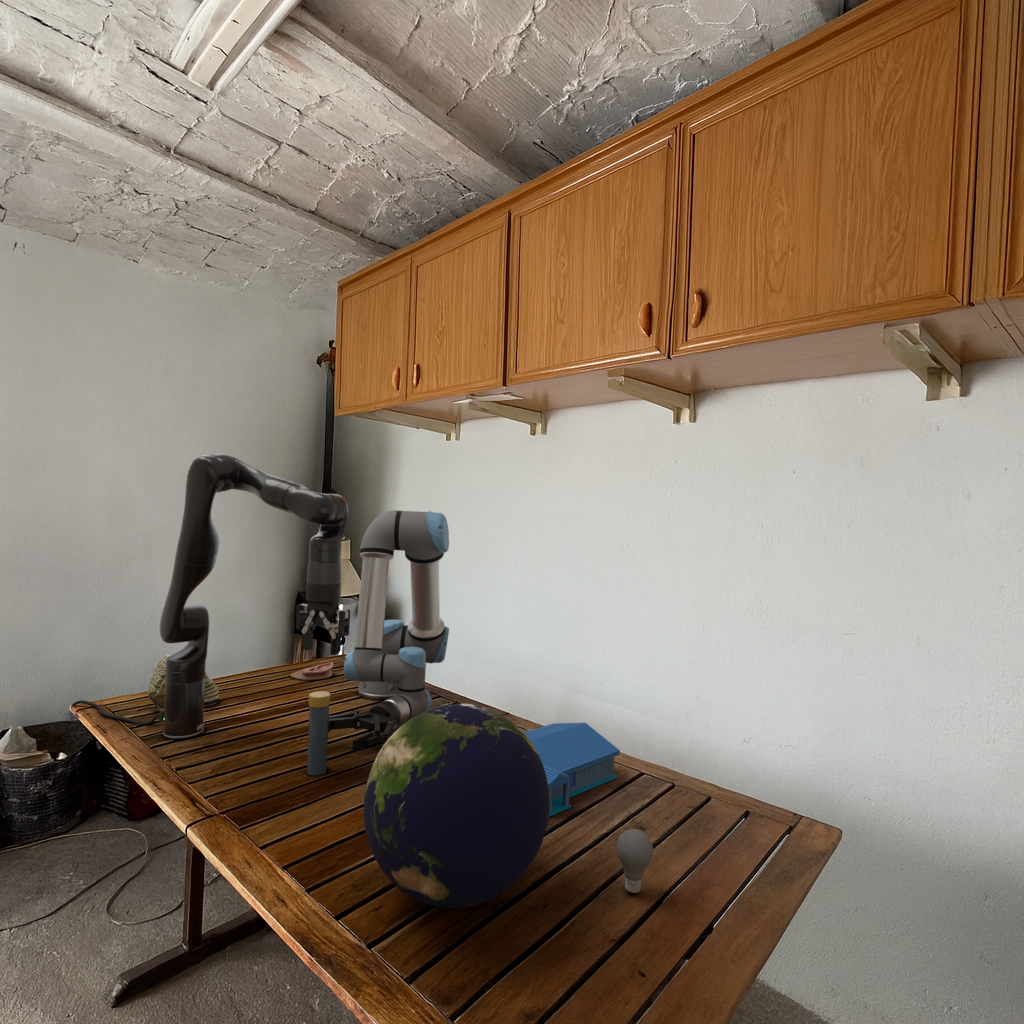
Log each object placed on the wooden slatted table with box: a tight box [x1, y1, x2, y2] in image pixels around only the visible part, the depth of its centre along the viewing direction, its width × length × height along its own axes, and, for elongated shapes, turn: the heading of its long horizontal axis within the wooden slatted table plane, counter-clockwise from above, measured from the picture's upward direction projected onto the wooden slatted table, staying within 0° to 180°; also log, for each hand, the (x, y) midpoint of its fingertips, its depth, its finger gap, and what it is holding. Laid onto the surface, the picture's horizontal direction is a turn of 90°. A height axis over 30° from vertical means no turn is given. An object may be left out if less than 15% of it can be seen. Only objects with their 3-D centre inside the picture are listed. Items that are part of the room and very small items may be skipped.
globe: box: [363, 703, 549, 909], centre depth 103 cm, size 30×30×30 cm
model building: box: [523, 722, 621, 818], centre depth 143 cm, size 39×24×10 cm, turn 132°
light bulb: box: [615, 828, 654, 894], centre depth 106 cm, size 6×6×10 cm
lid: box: [307, 690, 332, 708], centre depth 145 cm, size 5×5×2 cm
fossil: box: [147, 654, 221, 711], centre depth 185 cm, size 9×18×15 cm, turn 132°
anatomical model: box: [290, 661, 334, 681], centre depth 221 cm, size 13×4×12 cm
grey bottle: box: [306, 705, 330, 776], centre depth 146 cm, size 4×4×18 cm
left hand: (321, 652), depth 145 cm, fingers open, 7 cm apart
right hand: (331, 740), depth 148 cm, fingers open, 13 cm apart
